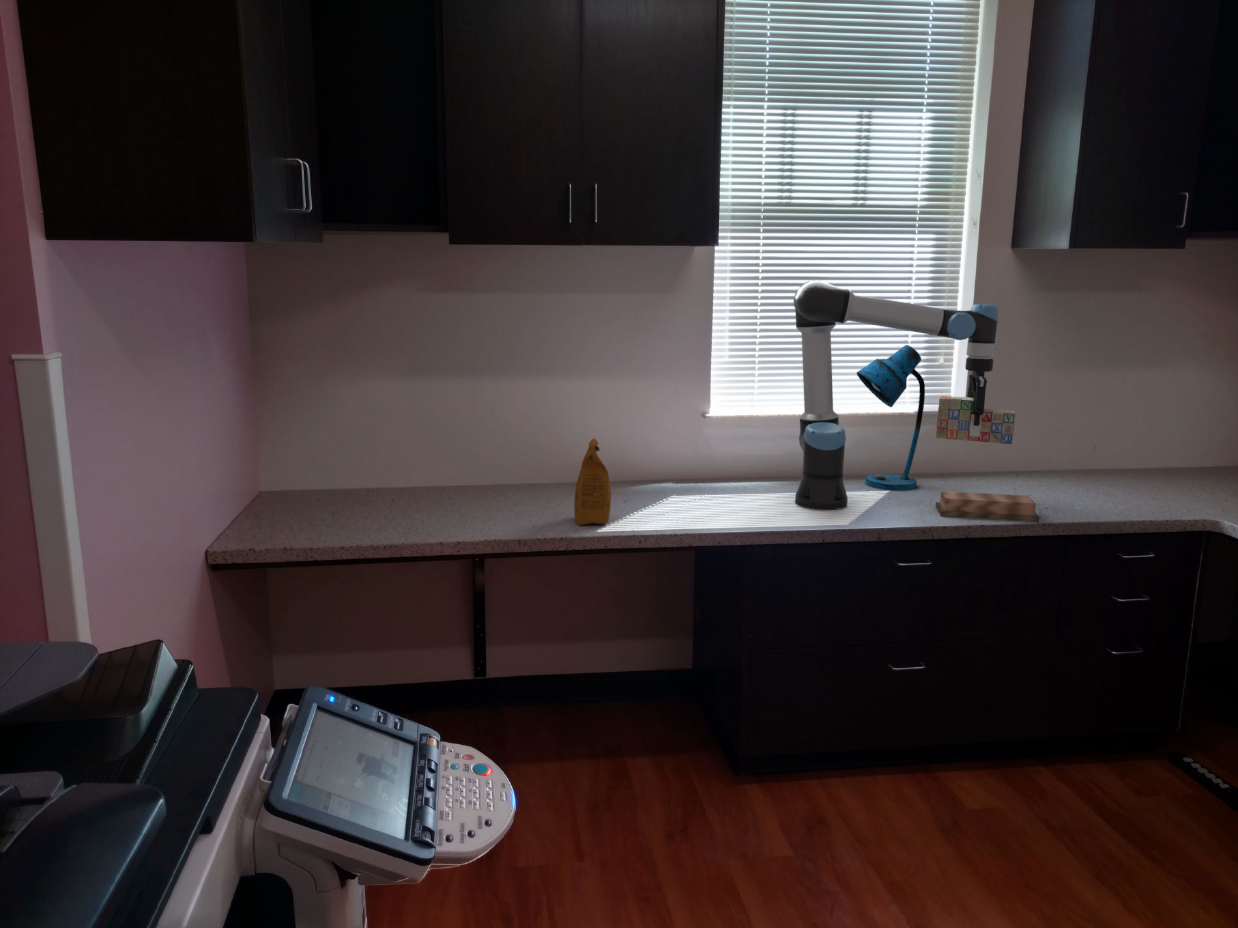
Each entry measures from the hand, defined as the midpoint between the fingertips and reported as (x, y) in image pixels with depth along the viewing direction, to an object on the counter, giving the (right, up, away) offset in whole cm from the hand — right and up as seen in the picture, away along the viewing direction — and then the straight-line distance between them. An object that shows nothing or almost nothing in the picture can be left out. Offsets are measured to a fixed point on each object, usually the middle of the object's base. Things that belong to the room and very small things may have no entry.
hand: (972, 433), depth 279 cm
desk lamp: (-20, -16, +23) cm, 34 cm away
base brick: (-1, -23, -13) cm, 27 cm away
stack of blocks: (+1, -2, 0) cm, 2 cm away
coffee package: (-113, -25, -25) cm, 118 cm away
